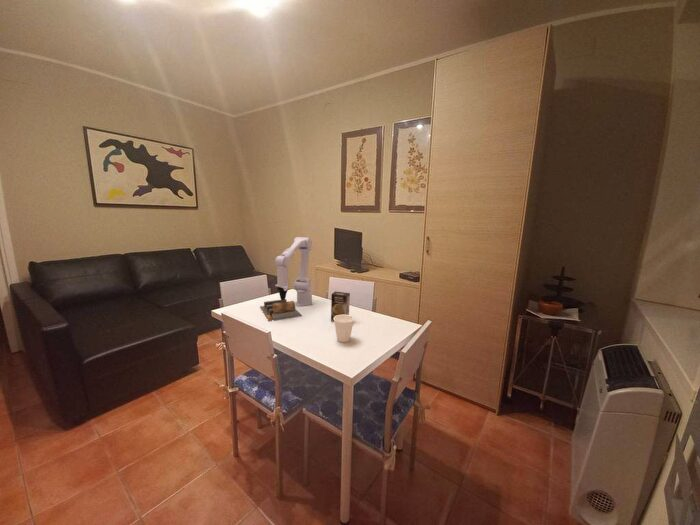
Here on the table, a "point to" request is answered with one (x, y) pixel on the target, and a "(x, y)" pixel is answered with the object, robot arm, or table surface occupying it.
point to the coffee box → (339, 304)
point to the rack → (271, 316)
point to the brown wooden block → (283, 306)
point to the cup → (343, 327)
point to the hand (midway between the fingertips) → (282, 299)
